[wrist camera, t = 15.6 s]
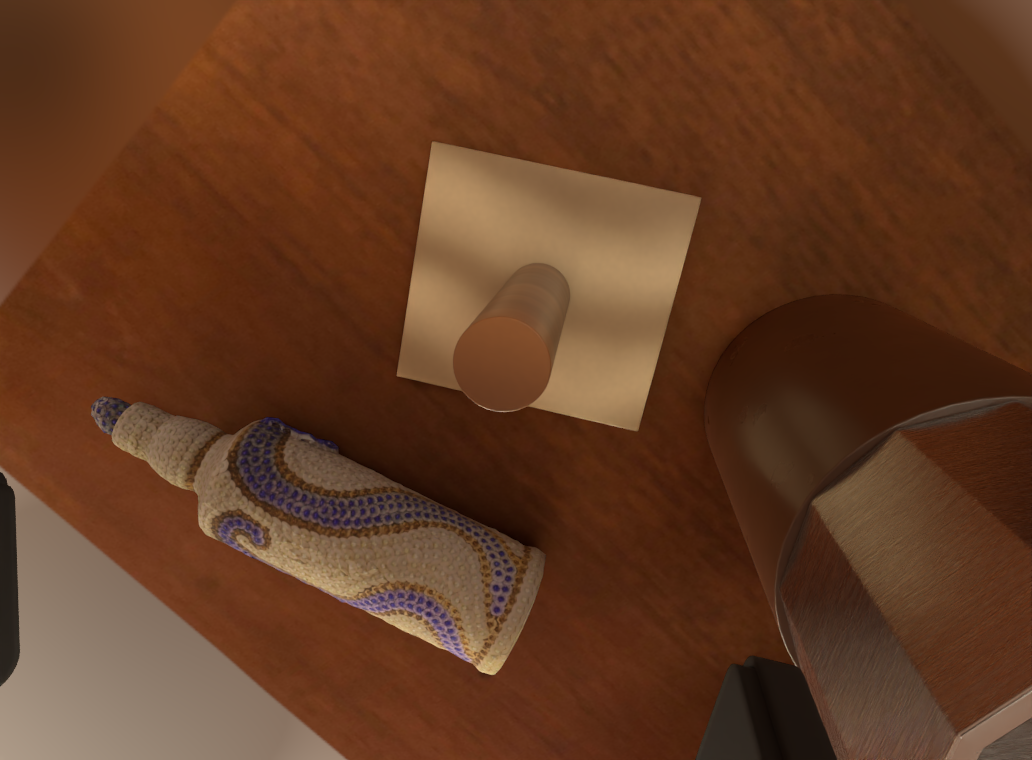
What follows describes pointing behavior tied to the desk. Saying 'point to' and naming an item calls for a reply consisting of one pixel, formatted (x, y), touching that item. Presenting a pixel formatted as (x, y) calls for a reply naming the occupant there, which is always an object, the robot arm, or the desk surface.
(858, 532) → the tin
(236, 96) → the desk surface
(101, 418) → the decorative bottle
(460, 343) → the stick
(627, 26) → the desk surface
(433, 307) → the board
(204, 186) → the desk surface
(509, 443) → the desk surface
